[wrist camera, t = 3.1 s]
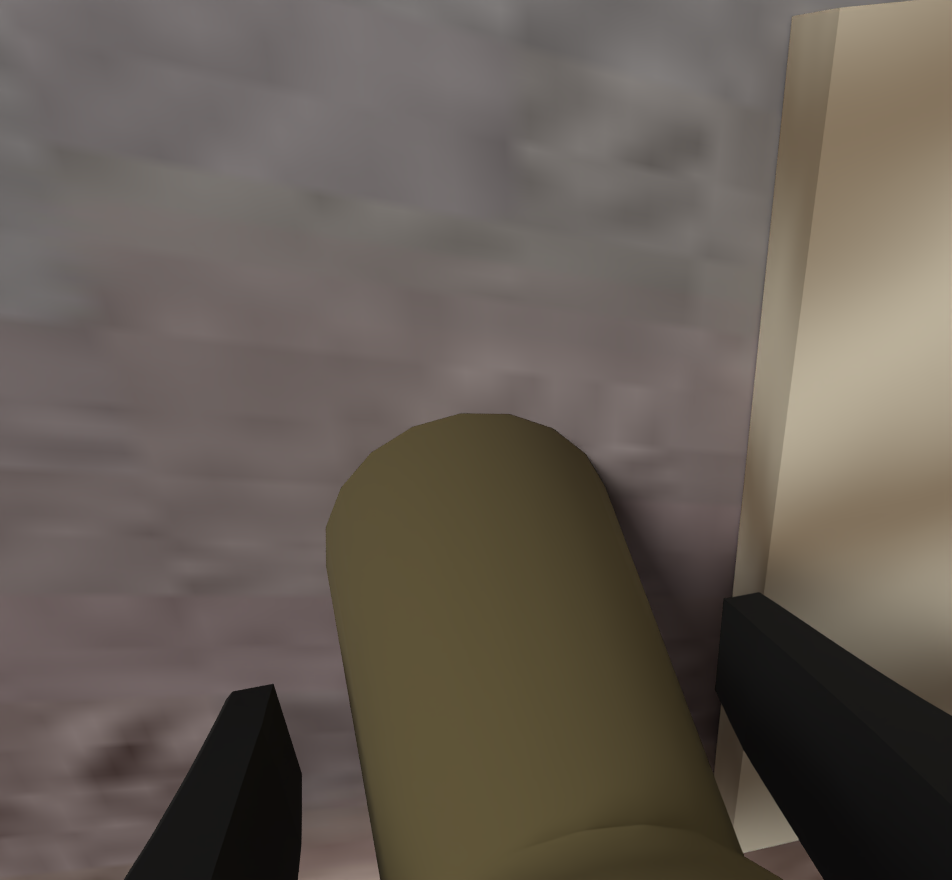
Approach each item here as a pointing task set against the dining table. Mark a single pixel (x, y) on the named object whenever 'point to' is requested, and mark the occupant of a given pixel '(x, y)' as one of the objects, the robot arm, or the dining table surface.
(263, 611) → the dining table surface
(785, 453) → the birch board
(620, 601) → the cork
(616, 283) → the dining table surface
